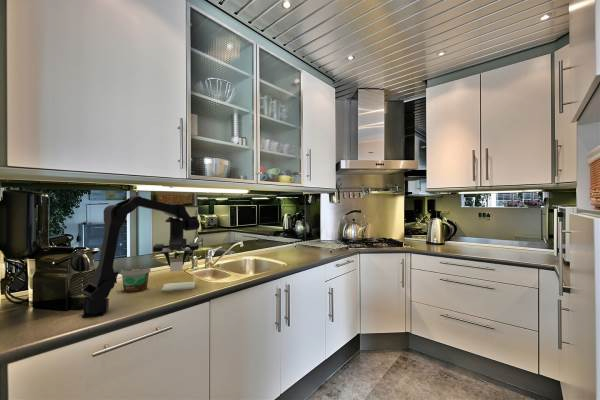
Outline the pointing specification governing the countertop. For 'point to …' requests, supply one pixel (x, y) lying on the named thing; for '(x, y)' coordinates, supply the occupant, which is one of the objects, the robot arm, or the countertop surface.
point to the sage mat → (178, 286)
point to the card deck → (176, 265)
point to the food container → (135, 280)
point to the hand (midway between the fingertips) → (176, 265)
